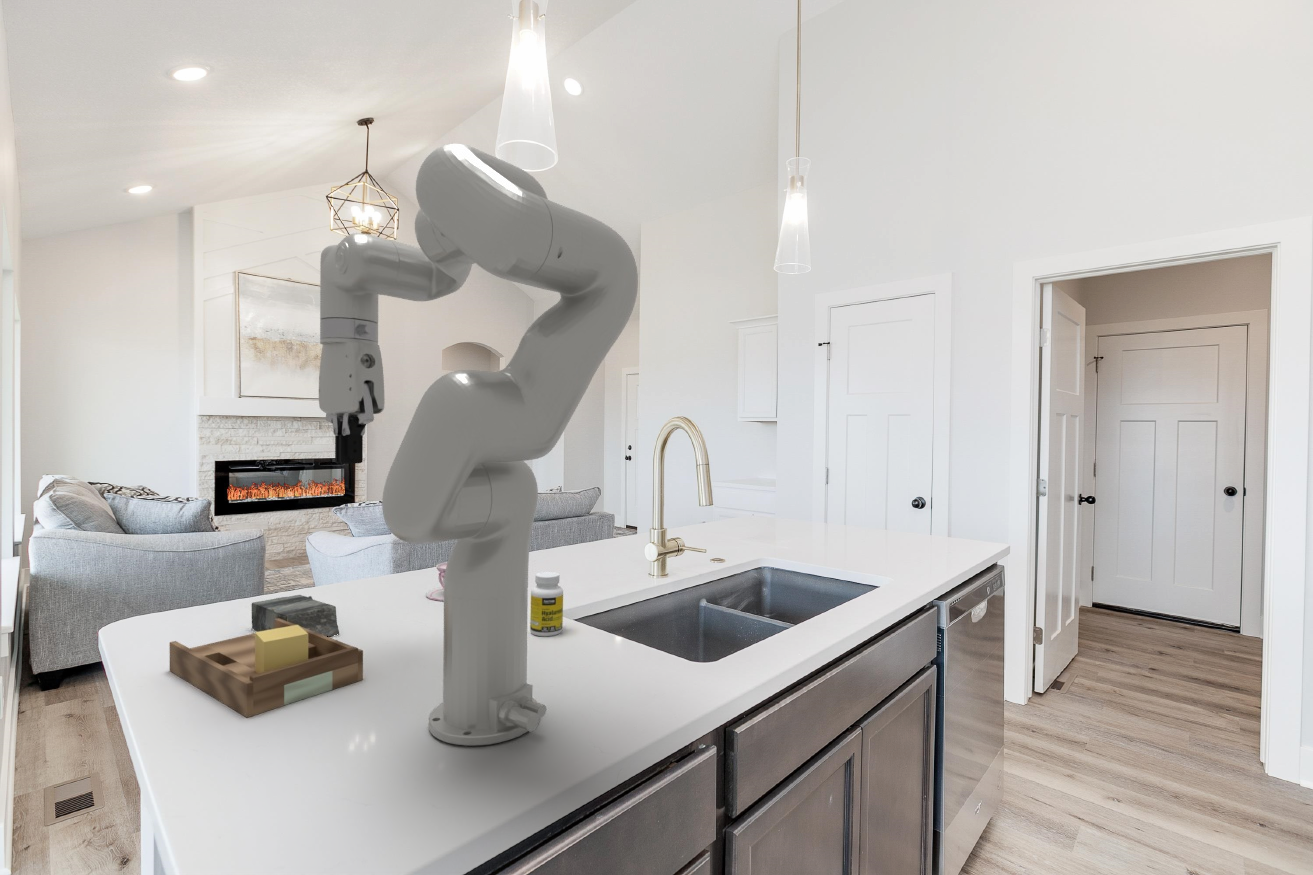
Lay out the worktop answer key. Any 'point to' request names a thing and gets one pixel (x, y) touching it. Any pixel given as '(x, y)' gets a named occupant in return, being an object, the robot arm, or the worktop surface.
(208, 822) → the worktop surface
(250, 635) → the box
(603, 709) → the worktop surface
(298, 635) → the block
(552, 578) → the supplement bottle
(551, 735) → the worktop surface
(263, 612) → the stone block
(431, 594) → the teacup
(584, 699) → the worktop surface
